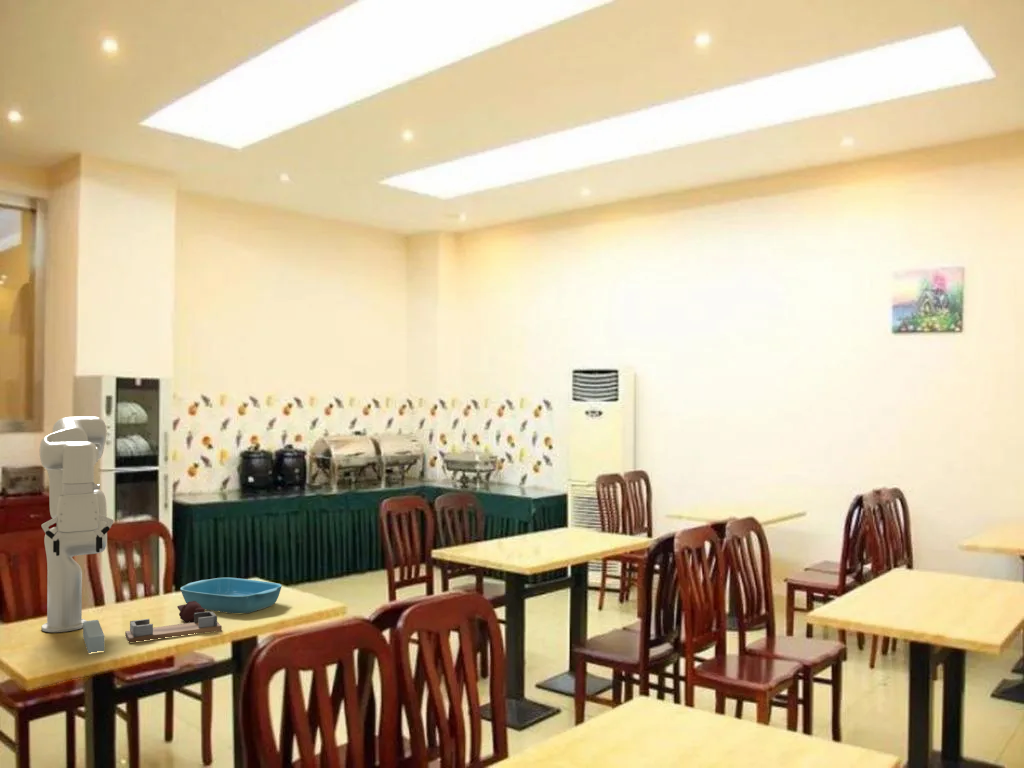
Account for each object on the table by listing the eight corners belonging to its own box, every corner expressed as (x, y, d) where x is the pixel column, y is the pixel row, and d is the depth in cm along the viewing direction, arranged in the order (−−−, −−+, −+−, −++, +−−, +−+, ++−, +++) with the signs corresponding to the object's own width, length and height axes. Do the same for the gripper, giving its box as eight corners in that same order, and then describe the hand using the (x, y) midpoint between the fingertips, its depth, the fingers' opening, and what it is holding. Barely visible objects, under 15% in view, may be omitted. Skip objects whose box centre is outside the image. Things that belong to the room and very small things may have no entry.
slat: (88, 655, 238) (88, 637, 238) (83, 638, 255) (83, 621, 255) (104, 653, 240) (104, 635, 240) (97, 636, 257) (98, 619, 257)
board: (125, 636, 256) (125, 631, 256) (215, 624, 269) (215, 619, 269) (129, 643, 248) (129, 638, 248) (221, 630, 262) (221, 626, 262)
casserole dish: (167, 607, 292) (167, 586, 293) (217, 593, 312) (217, 574, 312) (246, 620, 275) (246, 597, 275) (294, 605, 295) (294, 584, 295)
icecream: (165, 601, 273) (192, 612, 264) (186, 591, 278) (213, 602, 269) (169, 621, 274) (196, 633, 265) (189, 611, 280) (216, 622, 271)
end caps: (130, 631, 256) (130, 621, 256) (211, 620, 268) (211, 610, 268) (133, 637, 249) (133, 626, 249) (217, 626, 262) (217, 616, 262)
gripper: (112, 486, 237) (111, 548, 237) (41, 490, 228) (40, 554, 228) (115, 488, 231) (114, 552, 231) (42, 492, 222) (41, 558, 222)
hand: (77, 553), depth 229 cm, fingers open, 9 cm apart
